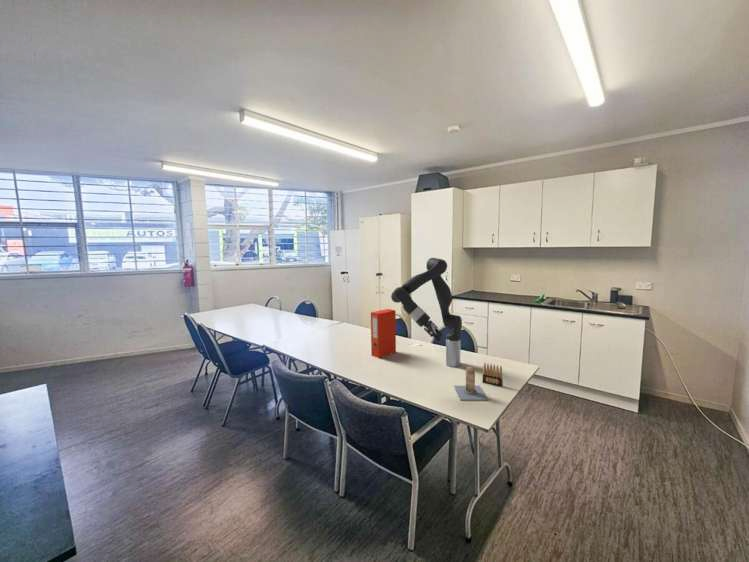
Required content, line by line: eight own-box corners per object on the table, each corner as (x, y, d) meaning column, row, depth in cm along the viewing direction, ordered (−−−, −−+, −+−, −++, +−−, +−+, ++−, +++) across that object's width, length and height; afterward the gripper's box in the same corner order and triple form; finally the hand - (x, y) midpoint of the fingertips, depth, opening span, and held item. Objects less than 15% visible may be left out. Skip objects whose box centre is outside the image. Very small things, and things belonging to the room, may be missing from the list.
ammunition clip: (482, 382, 182) (482, 362, 181) (483, 381, 183) (483, 361, 182) (501, 387, 176) (502, 366, 174) (502, 385, 177) (503, 365, 176)
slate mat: (454, 386, 178) (454, 385, 178) (479, 386, 177) (479, 385, 177) (460, 400, 162) (460, 399, 162) (488, 400, 161) (488, 399, 161)
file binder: (396, 352, 236) (395, 310, 232) (379, 358, 224) (378, 314, 221) (388, 350, 242) (387, 308, 238) (371, 355, 230) (370, 312, 227)
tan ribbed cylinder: (463, 389, 172) (463, 366, 171) (474, 389, 172) (474, 366, 171) (465, 394, 166) (466, 371, 165) (477, 394, 166) (477, 370, 165)
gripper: (422, 314, 167) (444, 337, 165) (426, 309, 180) (447, 330, 178) (412, 324, 169) (434, 346, 167) (417, 318, 182) (437, 338, 180)
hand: (440, 338), depth 172 cm, fingers open, 8 cm apart
